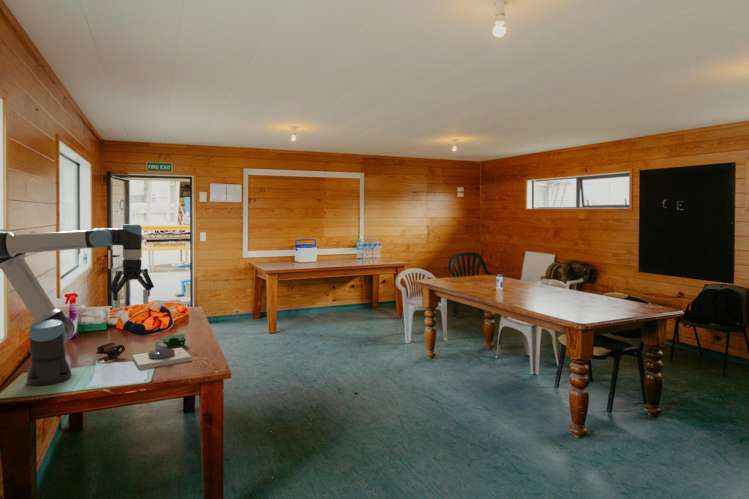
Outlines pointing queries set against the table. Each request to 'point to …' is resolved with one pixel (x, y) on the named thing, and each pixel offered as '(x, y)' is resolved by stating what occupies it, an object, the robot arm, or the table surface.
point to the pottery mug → (110, 351)
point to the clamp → (174, 340)
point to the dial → (160, 351)
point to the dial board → (146, 362)
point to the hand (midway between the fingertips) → (131, 305)
